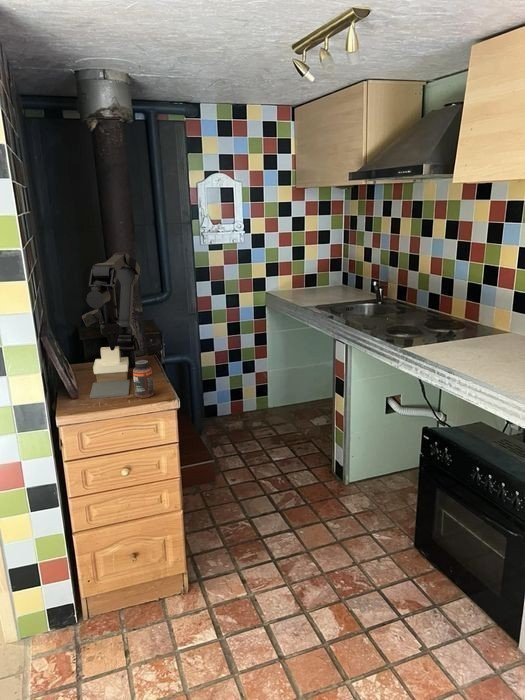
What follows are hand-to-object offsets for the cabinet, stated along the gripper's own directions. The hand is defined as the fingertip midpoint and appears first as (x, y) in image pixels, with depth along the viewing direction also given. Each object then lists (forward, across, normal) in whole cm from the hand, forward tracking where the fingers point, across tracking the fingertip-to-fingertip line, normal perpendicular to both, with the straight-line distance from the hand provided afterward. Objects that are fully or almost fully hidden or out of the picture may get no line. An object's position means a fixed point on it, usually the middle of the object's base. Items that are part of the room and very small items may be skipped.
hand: (111, 346), depth 185 cm
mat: (+12, +11, -2) cm, 16 cm away
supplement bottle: (+12, +20, +8) cm, 24 cm away
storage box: (+12, -1, -1) cm, 12 cm away
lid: (+8, -1, -1) cm, 9 cm away
